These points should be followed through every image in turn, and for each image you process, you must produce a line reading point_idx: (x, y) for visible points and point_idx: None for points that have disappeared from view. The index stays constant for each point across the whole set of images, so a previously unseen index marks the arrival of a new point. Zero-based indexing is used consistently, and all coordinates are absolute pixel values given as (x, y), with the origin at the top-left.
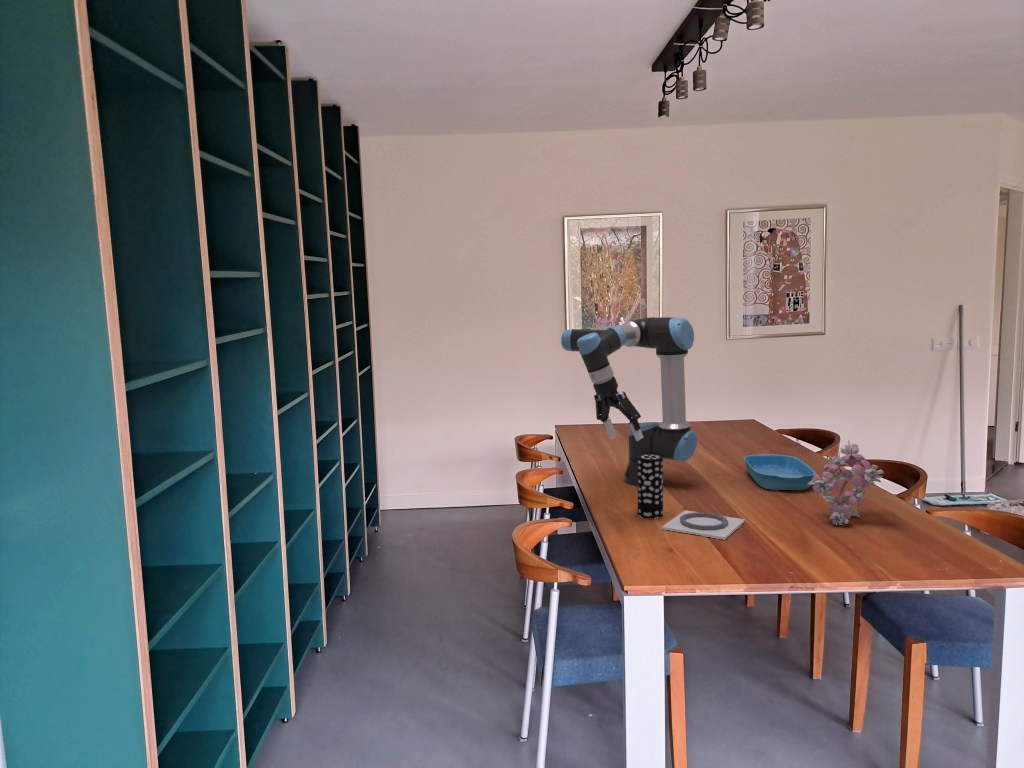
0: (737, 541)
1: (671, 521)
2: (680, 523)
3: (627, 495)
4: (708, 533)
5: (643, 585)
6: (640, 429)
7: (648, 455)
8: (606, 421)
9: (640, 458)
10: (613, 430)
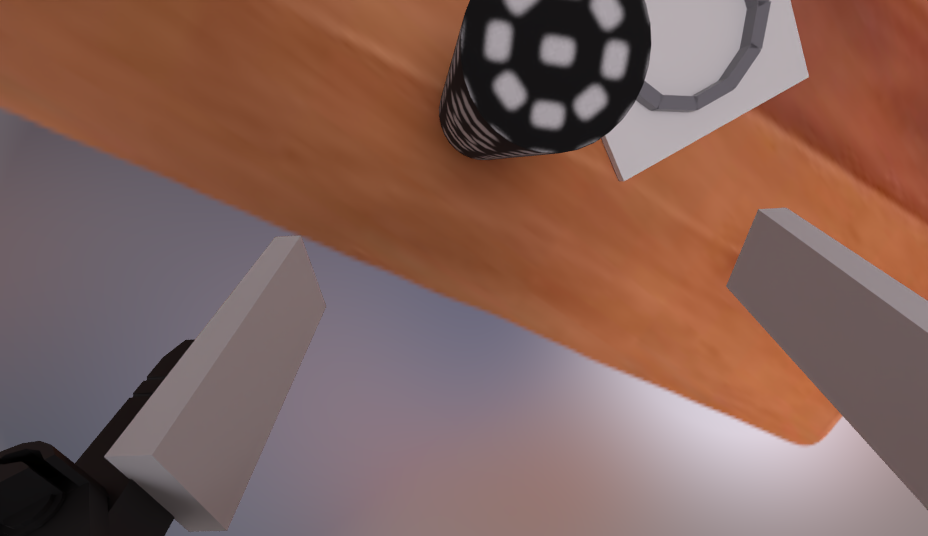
0: (826, 49)
1: None
2: (636, 102)
3: (195, 4)
4: (755, 94)
5: (830, 428)
6: (873, 266)
7: (512, 27)
8: (210, 504)
9: (555, 152)
10: (272, 302)
